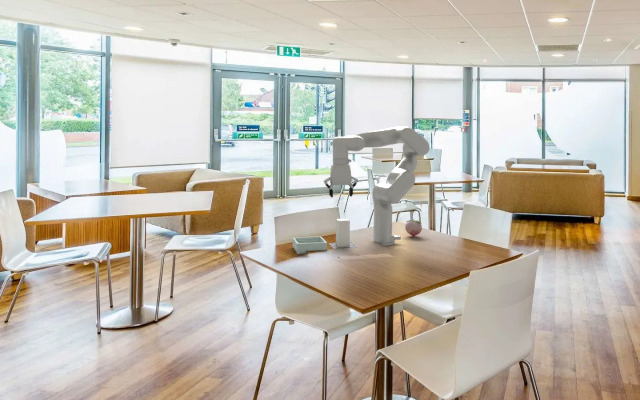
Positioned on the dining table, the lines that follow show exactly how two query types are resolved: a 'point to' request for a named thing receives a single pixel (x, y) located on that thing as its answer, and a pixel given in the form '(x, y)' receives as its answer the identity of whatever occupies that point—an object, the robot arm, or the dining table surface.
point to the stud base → (343, 247)
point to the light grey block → (342, 232)
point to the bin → (308, 244)
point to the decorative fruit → (413, 227)
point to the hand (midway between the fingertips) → (341, 196)
